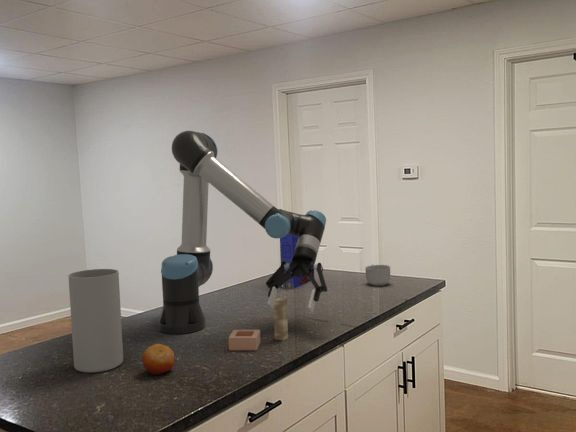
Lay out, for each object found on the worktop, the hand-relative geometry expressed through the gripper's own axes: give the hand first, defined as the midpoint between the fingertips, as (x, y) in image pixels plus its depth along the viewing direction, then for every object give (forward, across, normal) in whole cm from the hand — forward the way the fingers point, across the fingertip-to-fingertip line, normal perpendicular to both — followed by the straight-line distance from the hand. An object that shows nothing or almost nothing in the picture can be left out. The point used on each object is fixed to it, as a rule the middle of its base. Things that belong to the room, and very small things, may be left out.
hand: (289, 308), depth 167 cm
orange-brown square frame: (+15, +9, +4) cm, 18 cm away
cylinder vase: (+34, +38, +23) cm, 57 cm away
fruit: (+34, +20, +22) cm, 45 cm away
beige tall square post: (+8, +2, -4) cm, 9 cm away
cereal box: (-45, +28, -58) cm, 79 cm away
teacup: (-51, -6, -65) cm, 82 cm away
